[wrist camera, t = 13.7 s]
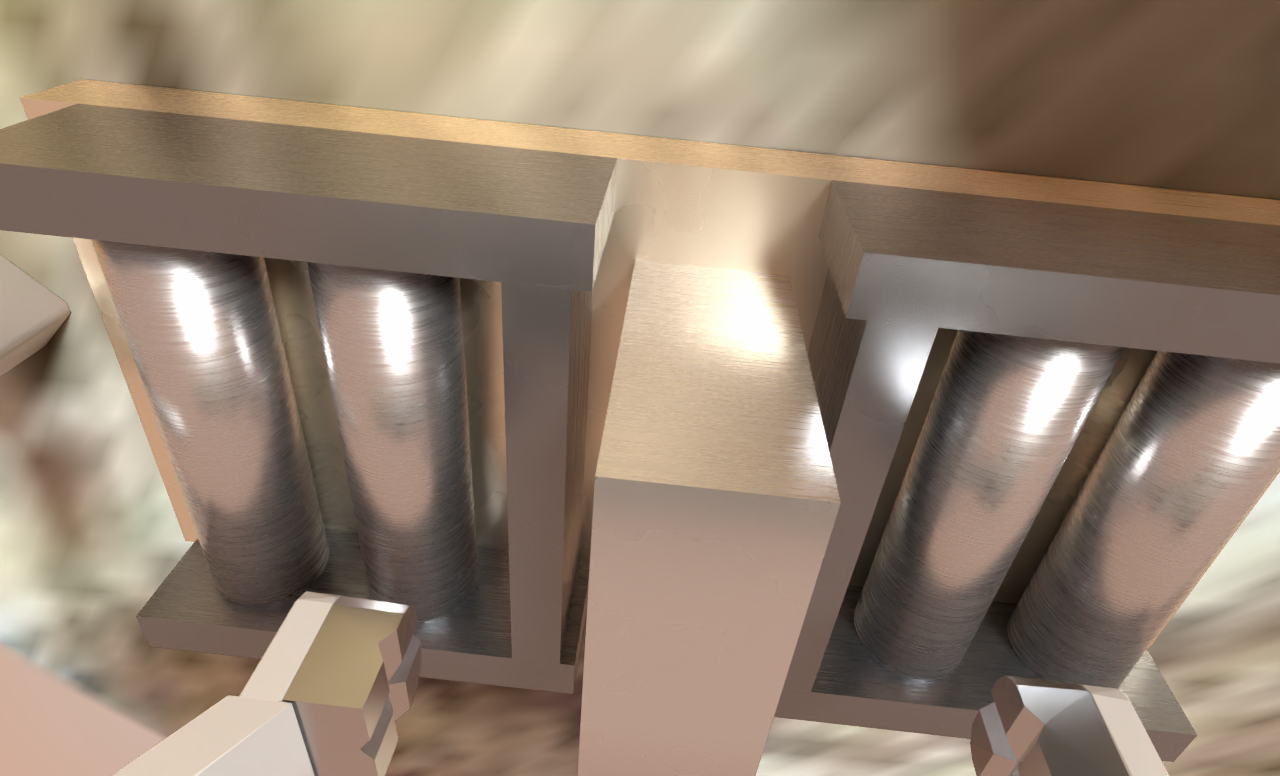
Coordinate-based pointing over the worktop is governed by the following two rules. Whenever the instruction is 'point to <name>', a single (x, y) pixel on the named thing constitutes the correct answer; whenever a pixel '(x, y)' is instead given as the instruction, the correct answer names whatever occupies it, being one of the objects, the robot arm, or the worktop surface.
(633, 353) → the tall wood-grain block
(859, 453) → the metal roller rack
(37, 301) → the lighter
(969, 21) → the worktop surface
